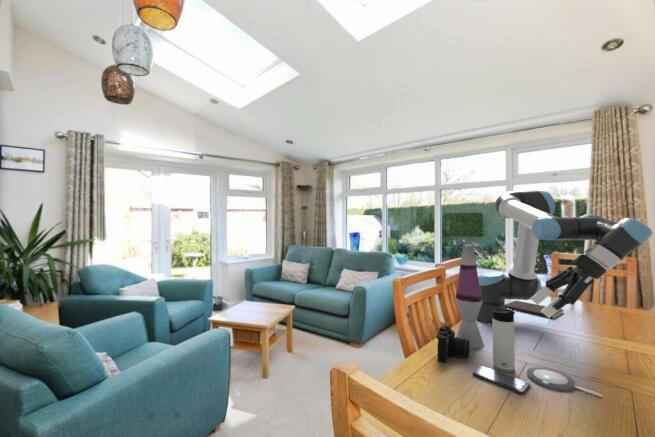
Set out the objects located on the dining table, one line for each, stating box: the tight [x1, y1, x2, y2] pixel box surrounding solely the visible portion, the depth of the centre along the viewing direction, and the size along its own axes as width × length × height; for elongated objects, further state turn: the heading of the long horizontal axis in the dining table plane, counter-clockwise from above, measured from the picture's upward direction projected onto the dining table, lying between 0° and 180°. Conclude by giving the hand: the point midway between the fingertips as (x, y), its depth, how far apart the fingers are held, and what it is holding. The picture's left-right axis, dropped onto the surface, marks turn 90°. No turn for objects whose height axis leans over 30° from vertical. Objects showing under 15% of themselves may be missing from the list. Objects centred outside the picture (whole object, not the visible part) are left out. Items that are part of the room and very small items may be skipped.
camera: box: [436, 324, 471, 364], centre depth 108 cm, size 14×11×10 cm
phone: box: [472, 365, 531, 396], centre depth 92 cm, size 14×7×1 cm, turn 40°
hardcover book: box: [505, 300, 565, 320], centre depth 161 cm, size 16×23×2 cm
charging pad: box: [526, 366, 603, 398], centre depth 90 cm, size 18×12×1 cm
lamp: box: [454, 244, 485, 350], centre depth 120 cm, size 11×11×40 cm
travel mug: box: [492, 309, 516, 374], centre depth 99 cm, size 6×7×20 cm
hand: (538, 307), depth 96 cm, fingers open, 13 cm apart
